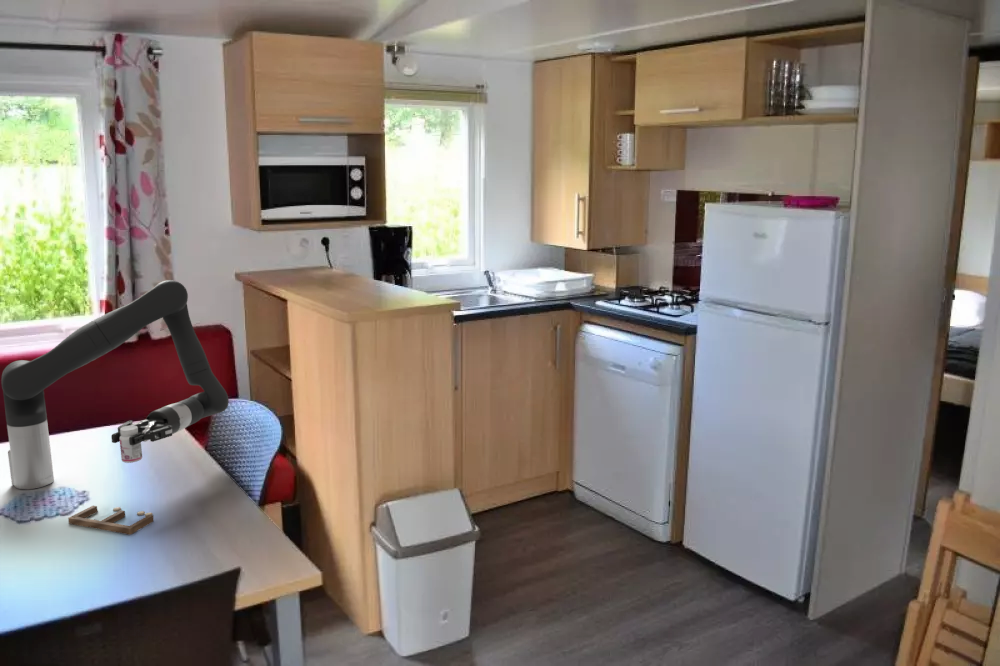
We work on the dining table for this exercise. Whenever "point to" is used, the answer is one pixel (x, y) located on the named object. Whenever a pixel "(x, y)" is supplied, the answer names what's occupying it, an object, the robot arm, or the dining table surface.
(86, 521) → the slot rack
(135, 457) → the pill bottle
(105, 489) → the dining table surface
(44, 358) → the robot arm
